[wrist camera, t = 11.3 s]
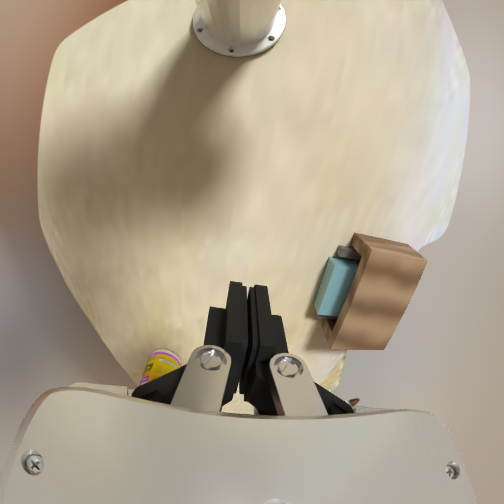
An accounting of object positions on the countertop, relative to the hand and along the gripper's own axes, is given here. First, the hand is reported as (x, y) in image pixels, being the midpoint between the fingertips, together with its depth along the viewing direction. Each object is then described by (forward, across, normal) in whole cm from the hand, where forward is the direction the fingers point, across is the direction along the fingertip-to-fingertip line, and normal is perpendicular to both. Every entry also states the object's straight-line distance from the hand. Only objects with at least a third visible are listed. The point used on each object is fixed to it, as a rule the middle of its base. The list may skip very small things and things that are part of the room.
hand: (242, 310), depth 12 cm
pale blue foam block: (+27, -21, +12) cm, 36 cm away
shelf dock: (+27, -23, +12) cm, 38 cm away
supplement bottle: (+27, +10, +35) cm, 46 cm away
